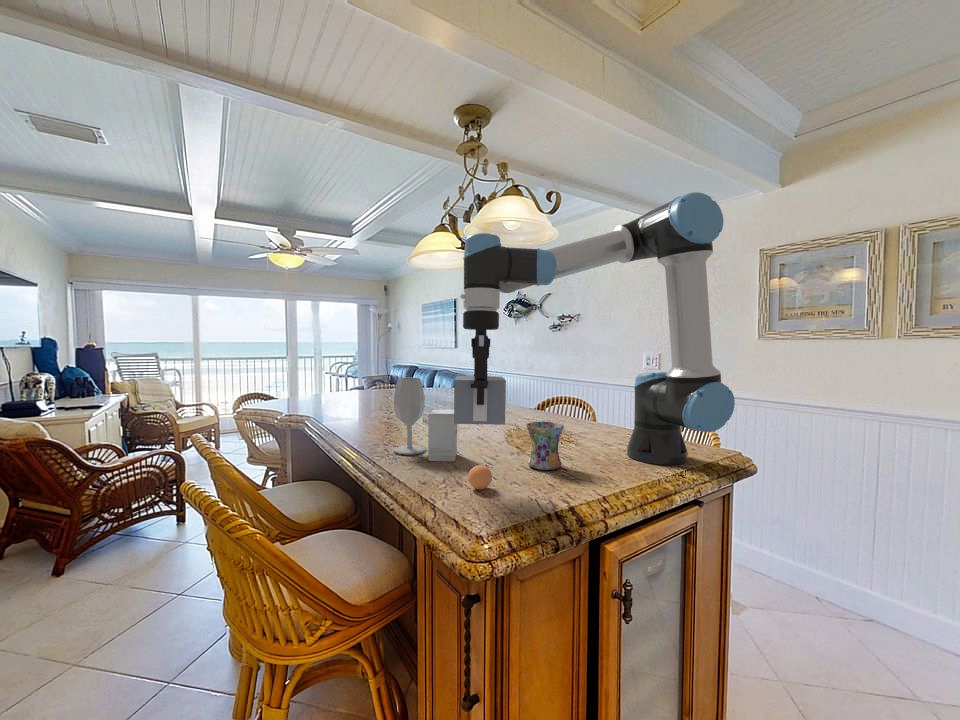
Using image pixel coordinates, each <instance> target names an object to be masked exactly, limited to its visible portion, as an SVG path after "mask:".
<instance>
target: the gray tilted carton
mask: <svg viewBox="0 0 960 720" xmlns="http://www.w3.org/2000/svg"><path fill="white" fill-rule="evenodd" d="M474 381H475V376H474V375H456V377H454V391H453V392H454V394H453V396H454V398H453V399H454V400H453V402H454V403H453V410H454V424H457V425H499V426H500V425H502V426H505V425H506V404H507V403H506V399H507V397H506V396H507V391H506V389H507V381H506V379H505V378H504V376H501V375H500V376H491V375H490V376H488V375H487V381H488V387H487V421H473V395H474V388H471V384H474Z"/></svg>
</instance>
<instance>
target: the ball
mask: <svg viewBox="0 0 960 720" xmlns="http://www.w3.org/2000/svg"><path fill="white" fill-rule="evenodd" d="M467 476H468V477H467V478H468V483H469V484H470V486H471V487H472V488H473V489H476V490H485V489H487V488H488V487H489V486H490V485H491V482H492V480H493V479H492V478H493V476H492V471H491V470H490V469H489V468H488V467H487V466H485V465H481V464H479V465H475V466H474V467H472V468H471V469H470V471H469V472H468V475H467Z"/></svg>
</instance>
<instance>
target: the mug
mask: <svg viewBox="0 0 960 720" xmlns="http://www.w3.org/2000/svg"><path fill="white" fill-rule="evenodd" d="M525 426H526V429H527V431H528V435H529V439H530V444H531V445H530V446H531V447H530V448H531V449H530V454H529V458H528V460H527V464H528V466H529V467H531V468H534V469H537V470H543V471H549V470H550V471H551V470H552V471H553V470H556V469H559V468H560V467H562V461H561V458H560V455H559V454H560V453H559V444H560V443H559V442H560V438H561V435H562V432H563V429H564V427H565V426H564V424H562V423H560V422H554V421H544V420H543V421H532V422H531V421H530V422H528V423H526V425H525Z"/></svg>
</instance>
